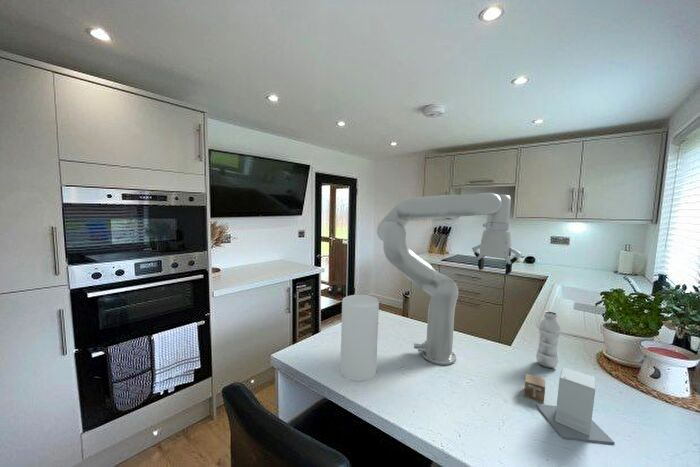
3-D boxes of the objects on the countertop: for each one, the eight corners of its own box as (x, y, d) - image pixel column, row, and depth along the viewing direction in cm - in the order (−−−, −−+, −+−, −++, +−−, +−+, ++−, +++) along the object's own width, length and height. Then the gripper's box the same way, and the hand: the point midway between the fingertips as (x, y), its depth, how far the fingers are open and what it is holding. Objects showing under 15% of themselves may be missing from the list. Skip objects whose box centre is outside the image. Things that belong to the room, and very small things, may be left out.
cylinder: (353, 357, 106) (355, 292, 104) (382, 368, 99) (385, 299, 97) (332, 372, 96) (334, 300, 94) (363, 386, 89) (366, 309, 87)
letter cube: (524, 397, 86) (525, 381, 86) (524, 388, 91) (525, 373, 90) (543, 403, 83) (545, 387, 83) (543, 394, 88) (544, 379, 87)
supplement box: (590, 437, 71) (595, 389, 69) (554, 421, 76) (558, 376, 74) (591, 421, 76) (596, 376, 75) (557, 407, 81) (561, 365, 80)
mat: (562, 438, 70) (562, 436, 70) (535, 405, 82) (536, 404, 82) (614, 444, 69) (614, 442, 69) (580, 409, 81) (580, 408, 81)
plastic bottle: (561, 371, 101) (566, 317, 99) (540, 368, 102) (544, 315, 100) (552, 362, 107) (556, 311, 105) (532, 359, 108) (536, 309, 107)
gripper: (470, 226, 111) (467, 269, 112) (519, 229, 98) (515, 277, 100) (478, 225, 116) (475, 266, 117) (526, 228, 103) (522, 274, 105)
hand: (493, 271), depth 108 cm, fingers open, 9 cm apart
